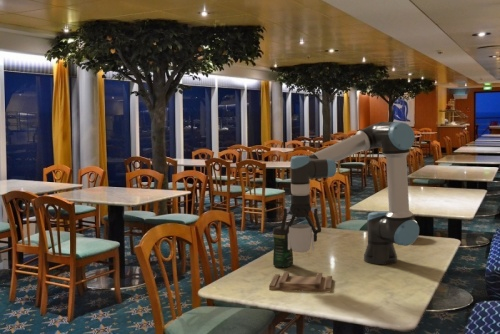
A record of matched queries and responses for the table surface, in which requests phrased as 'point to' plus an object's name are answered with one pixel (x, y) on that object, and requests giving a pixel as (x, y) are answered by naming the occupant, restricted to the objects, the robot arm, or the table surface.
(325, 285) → the rack
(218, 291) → the table surface
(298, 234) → the mug
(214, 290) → the table surface
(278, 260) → the coffee jar
